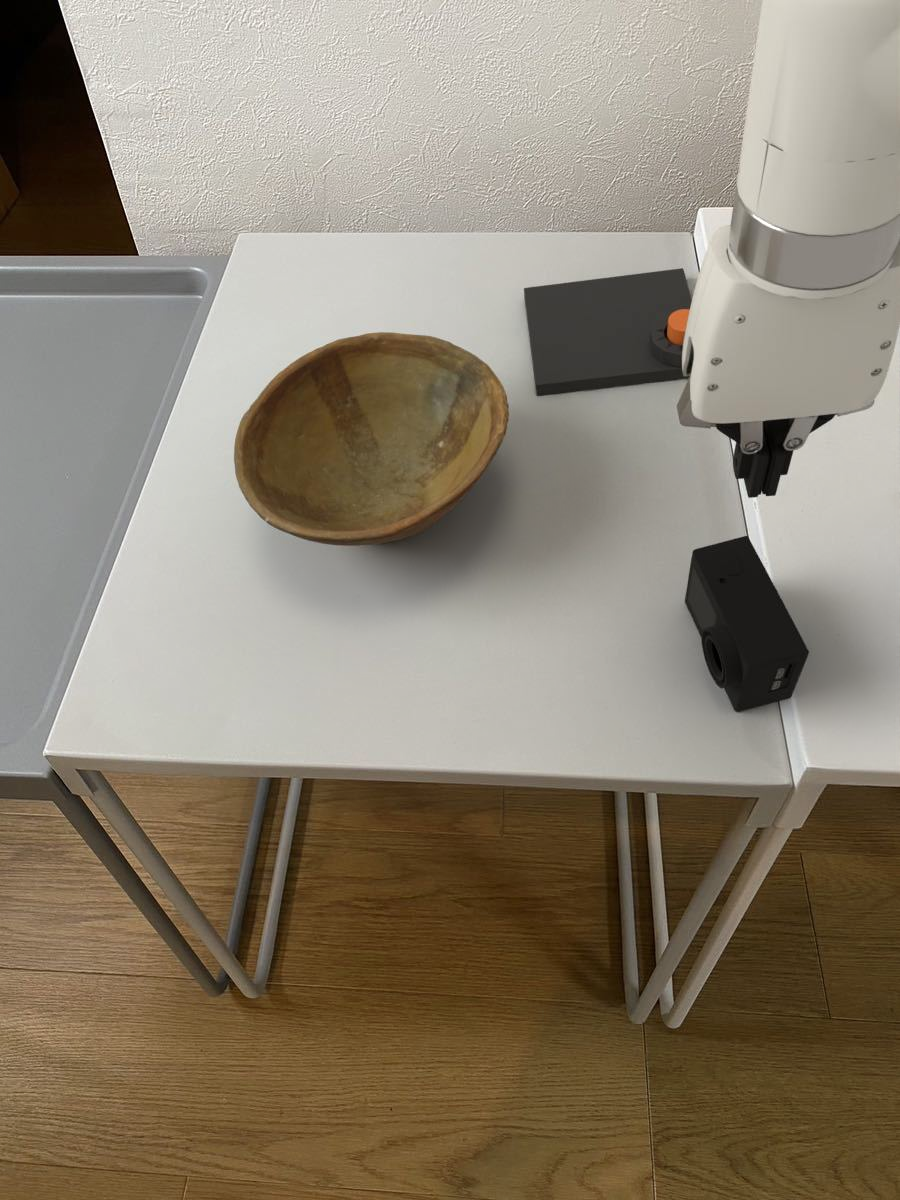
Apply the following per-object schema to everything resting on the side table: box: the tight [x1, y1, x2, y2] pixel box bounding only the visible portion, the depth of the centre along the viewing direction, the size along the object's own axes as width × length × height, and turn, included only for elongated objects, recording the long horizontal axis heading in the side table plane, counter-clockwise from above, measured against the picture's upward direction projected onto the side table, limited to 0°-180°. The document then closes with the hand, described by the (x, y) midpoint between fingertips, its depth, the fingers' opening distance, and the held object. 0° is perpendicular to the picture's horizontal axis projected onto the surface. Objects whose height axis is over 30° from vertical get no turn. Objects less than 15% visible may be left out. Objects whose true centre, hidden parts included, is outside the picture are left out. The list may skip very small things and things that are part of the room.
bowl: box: [233, 331, 510, 547], centre depth 79 cm, size 22×23×10 cm
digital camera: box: [684, 535, 810, 713], centre depth 68 cm, size 10×5×7 cm, turn 13°
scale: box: [523, 267, 693, 396], centre depth 90 cm, size 17×14×3 cm
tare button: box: [667, 309, 690, 346], centre depth 85 cm, size 3×3×2 cm
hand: (757, 479), depth 58 cm, fingers closed
